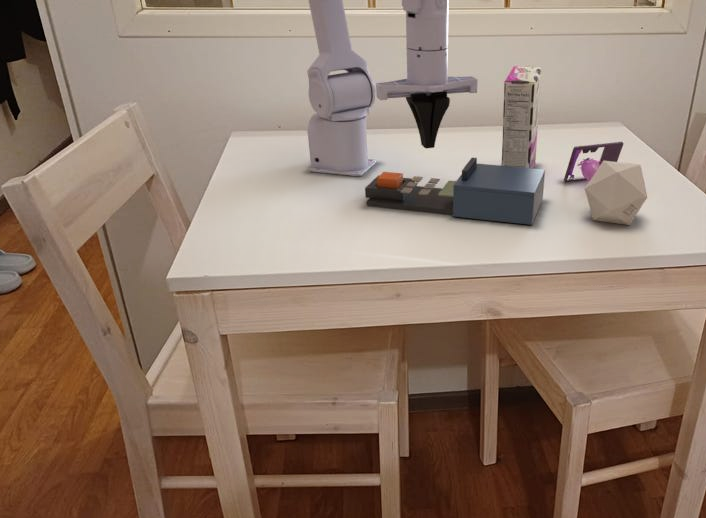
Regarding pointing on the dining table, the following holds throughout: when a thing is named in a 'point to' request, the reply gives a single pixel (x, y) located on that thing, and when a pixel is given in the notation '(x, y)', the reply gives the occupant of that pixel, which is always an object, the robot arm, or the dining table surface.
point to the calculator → (408, 199)
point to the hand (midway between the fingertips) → (427, 146)
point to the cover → (498, 193)
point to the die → (616, 192)
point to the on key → (390, 180)
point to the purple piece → (591, 165)
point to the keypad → (430, 187)
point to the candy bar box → (521, 116)
